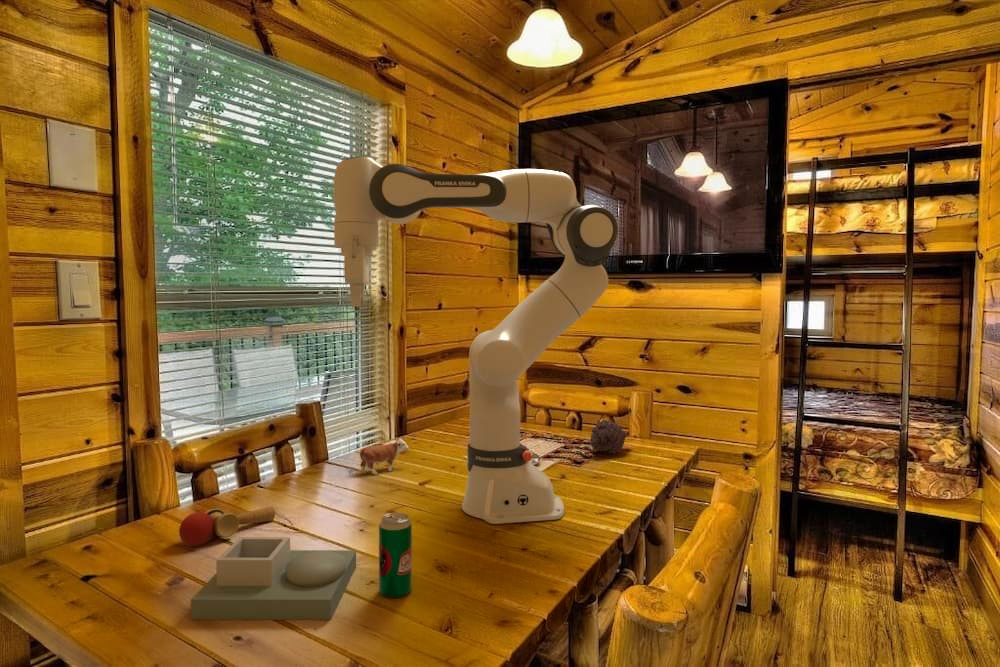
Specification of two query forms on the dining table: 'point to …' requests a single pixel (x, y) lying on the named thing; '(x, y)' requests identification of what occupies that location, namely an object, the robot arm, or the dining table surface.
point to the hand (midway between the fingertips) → (357, 306)
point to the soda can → (395, 555)
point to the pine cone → (608, 437)
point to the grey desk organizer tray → (274, 582)
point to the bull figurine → (381, 454)
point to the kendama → (218, 524)
